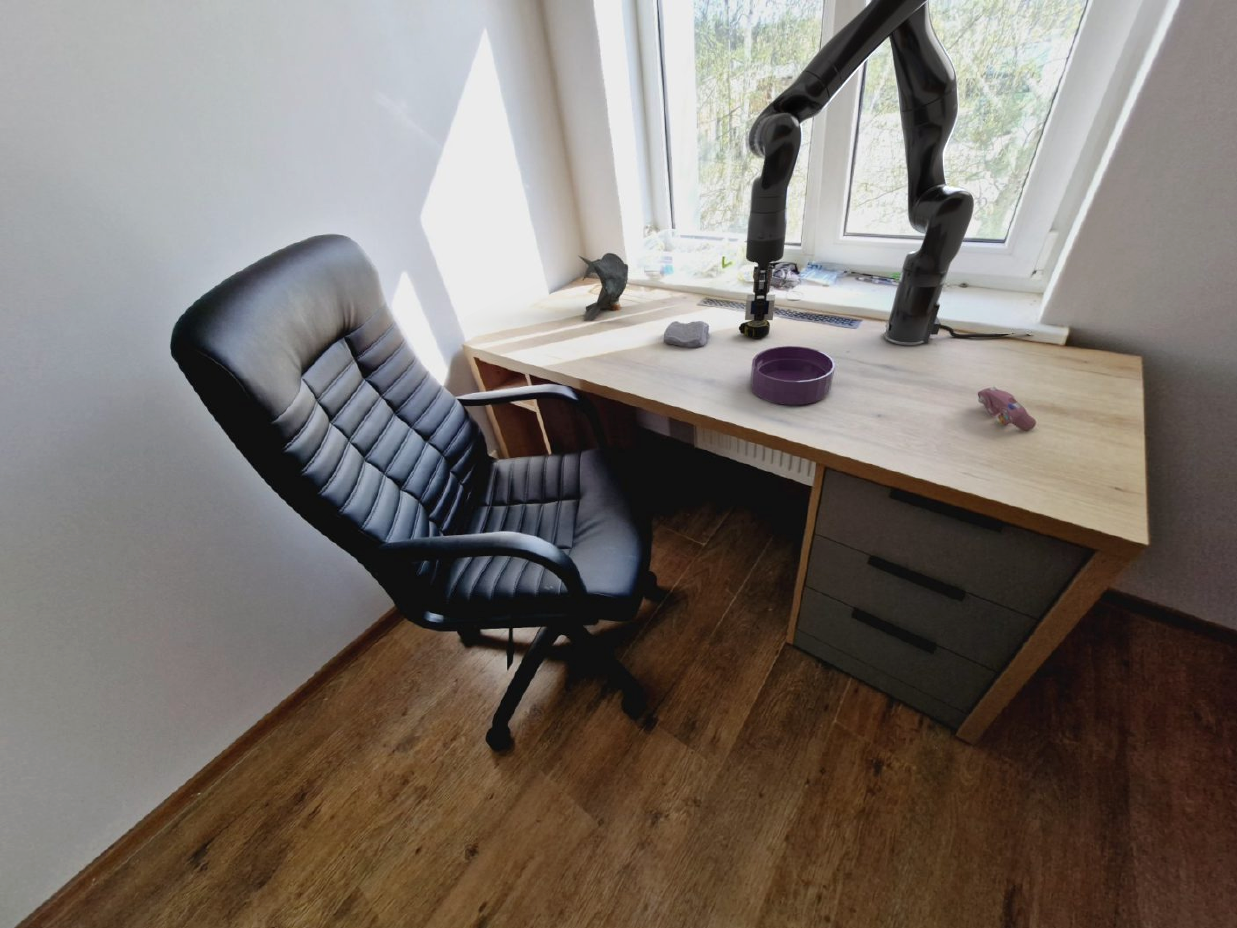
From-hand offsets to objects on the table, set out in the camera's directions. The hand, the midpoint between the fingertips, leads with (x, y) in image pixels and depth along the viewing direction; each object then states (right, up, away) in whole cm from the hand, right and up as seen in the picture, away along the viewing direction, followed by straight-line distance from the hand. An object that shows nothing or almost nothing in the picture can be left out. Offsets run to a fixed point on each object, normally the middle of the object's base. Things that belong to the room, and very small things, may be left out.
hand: (759, 316), depth 106 cm
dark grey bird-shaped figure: (-35, +17, +50) cm, 63 cm away
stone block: (-13, +1, +25) cm, 28 cm away
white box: (0, 0, 0) cm, 0 cm away
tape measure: (+5, +2, +23) cm, 24 cm away
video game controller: (+41, -25, -17) cm, 51 cm away
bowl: (+7, -16, 0) cm, 17 cm away
